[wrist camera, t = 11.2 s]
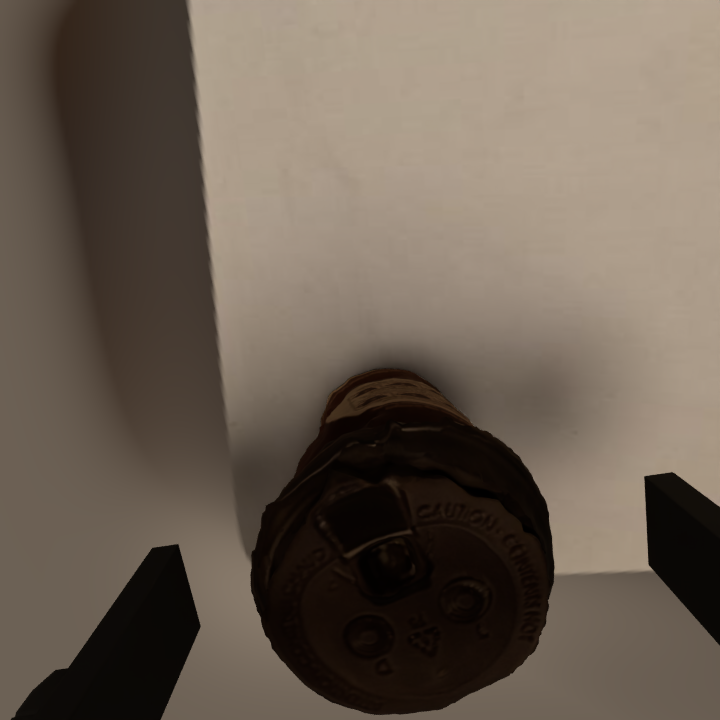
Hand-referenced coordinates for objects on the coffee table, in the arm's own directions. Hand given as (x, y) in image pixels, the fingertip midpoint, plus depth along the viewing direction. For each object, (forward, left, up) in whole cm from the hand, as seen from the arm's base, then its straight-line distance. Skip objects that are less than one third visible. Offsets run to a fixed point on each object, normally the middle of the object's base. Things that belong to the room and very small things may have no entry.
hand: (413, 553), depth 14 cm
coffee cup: (0, 0, -11) cm, 11 cm away
